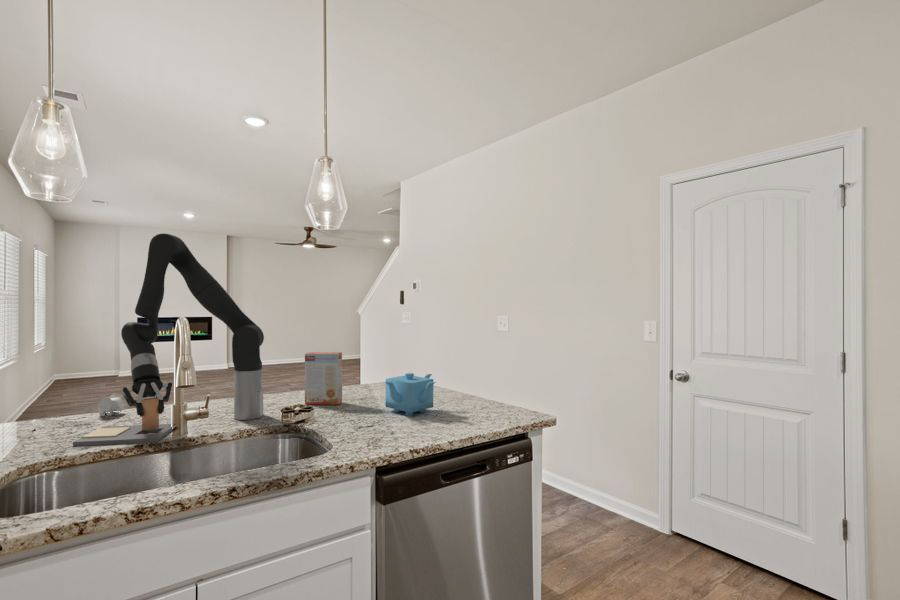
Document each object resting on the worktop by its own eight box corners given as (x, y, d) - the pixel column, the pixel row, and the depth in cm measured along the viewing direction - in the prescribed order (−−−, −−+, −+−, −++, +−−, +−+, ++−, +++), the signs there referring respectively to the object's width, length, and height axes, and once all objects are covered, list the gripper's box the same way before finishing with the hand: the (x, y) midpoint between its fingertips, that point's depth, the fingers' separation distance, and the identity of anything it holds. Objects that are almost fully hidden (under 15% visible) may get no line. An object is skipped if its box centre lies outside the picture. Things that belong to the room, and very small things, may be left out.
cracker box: (342, 402, 193) (342, 351, 193) (337, 405, 187) (338, 353, 187) (310, 401, 194) (310, 351, 194) (304, 404, 188) (304, 353, 188)
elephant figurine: (121, 416, 168) (121, 396, 168) (91, 417, 166) (91, 397, 166) (131, 411, 176) (131, 392, 176) (102, 412, 174) (102, 393, 174)
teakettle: (386, 406, 186) (386, 369, 186) (433, 405, 188) (433, 369, 188) (384, 419, 167) (384, 378, 167) (436, 418, 169) (436, 377, 169)
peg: (161, 425, 149) (161, 397, 149) (155, 429, 144) (154, 400, 144) (146, 426, 148) (145, 398, 148) (139, 430, 144) (138, 401, 143)
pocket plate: (177, 427, 155) (177, 422, 155) (155, 442, 139) (155, 436, 139) (103, 430, 151) (103, 425, 151) (72, 446, 135) (72, 440, 135)
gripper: (119, 365, 147) (124, 410, 138) (171, 361, 156) (179, 403, 147) (118, 379, 151) (122, 424, 142) (168, 374, 160) (176, 416, 151)
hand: (151, 413), depth 145 cm, fingers closed on peg, 4 cm apart
